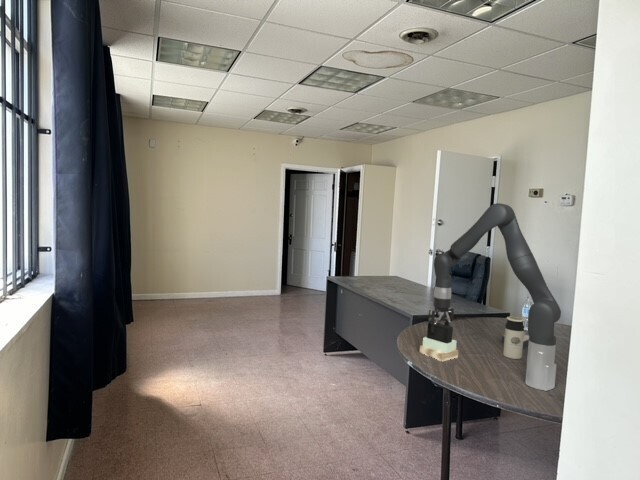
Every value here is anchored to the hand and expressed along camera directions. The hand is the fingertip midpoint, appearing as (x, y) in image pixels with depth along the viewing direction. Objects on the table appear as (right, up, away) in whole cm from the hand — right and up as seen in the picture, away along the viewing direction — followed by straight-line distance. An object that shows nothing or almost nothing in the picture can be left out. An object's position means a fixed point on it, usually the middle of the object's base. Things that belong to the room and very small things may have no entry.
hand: (440, 331), depth 192 cm
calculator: (+48, -12, +26) cm, 56 cm away
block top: (0, -8, +1) cm, 8 cm away
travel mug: (+35, -13, +3) cm, 37 cm away
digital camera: (0, -4, 0) cm, 4 cm away
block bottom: (-1, -12, +1) cm, 12 cm away
